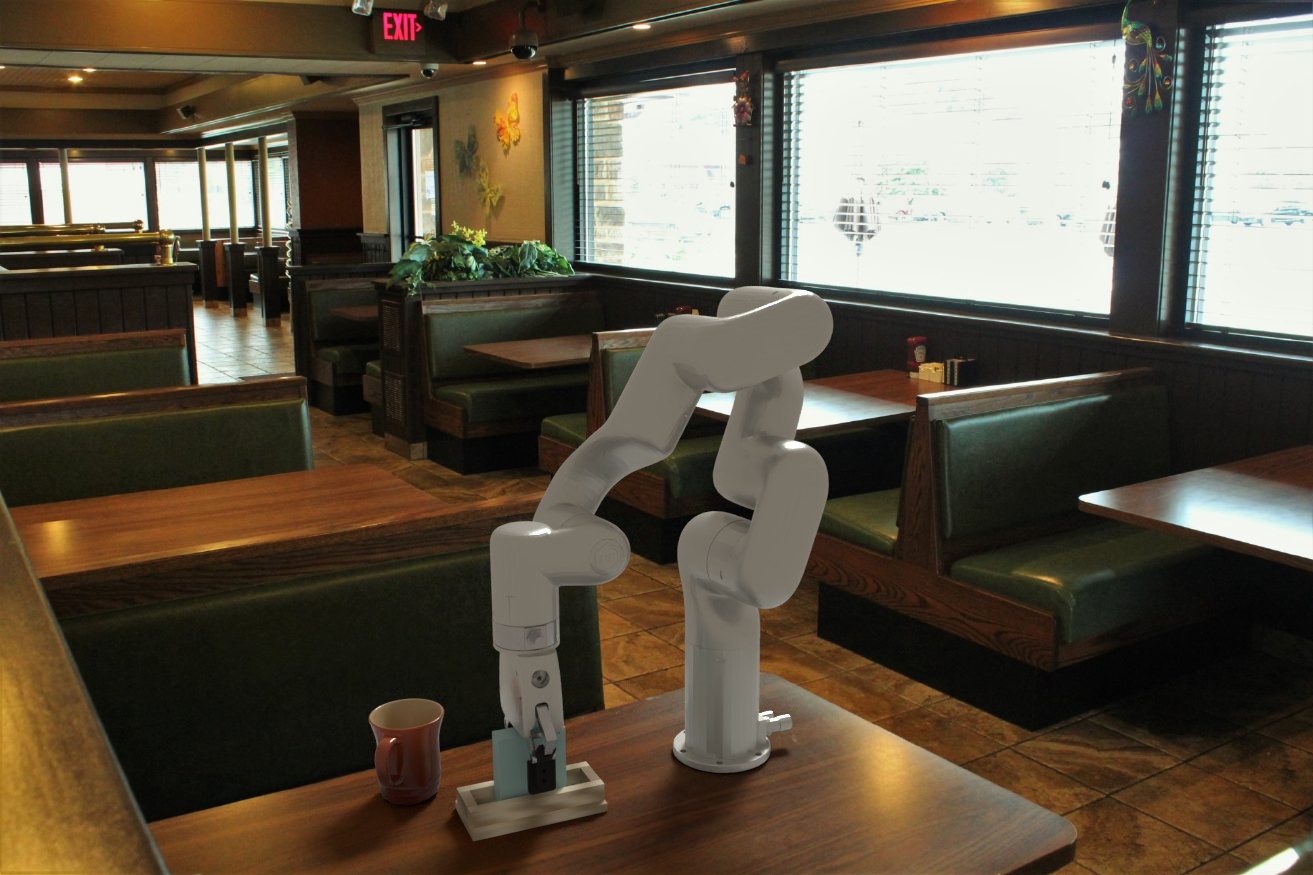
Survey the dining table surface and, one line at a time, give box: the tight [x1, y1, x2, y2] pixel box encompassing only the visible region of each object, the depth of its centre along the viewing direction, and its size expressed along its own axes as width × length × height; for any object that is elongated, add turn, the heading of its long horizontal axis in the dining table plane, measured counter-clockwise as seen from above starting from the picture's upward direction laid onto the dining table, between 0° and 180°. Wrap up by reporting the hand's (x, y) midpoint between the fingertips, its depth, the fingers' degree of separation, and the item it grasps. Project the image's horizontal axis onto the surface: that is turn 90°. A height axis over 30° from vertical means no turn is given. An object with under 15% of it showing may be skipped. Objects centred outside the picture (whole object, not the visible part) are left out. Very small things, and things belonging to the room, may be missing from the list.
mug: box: [368, 698, 445, 806], centre depth 134 cm, size 12×9×10 cm
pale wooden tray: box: [454, 761, 609, 842], centre depth 132 cm, size 16×8×3 cm, turn 114°
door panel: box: [491, 726, 567, 802], centre depth 131 cm, size 8×3×9 cm, turn 114°
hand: (530, 774), depth 132 cm, fingers open, 8 cm apart
